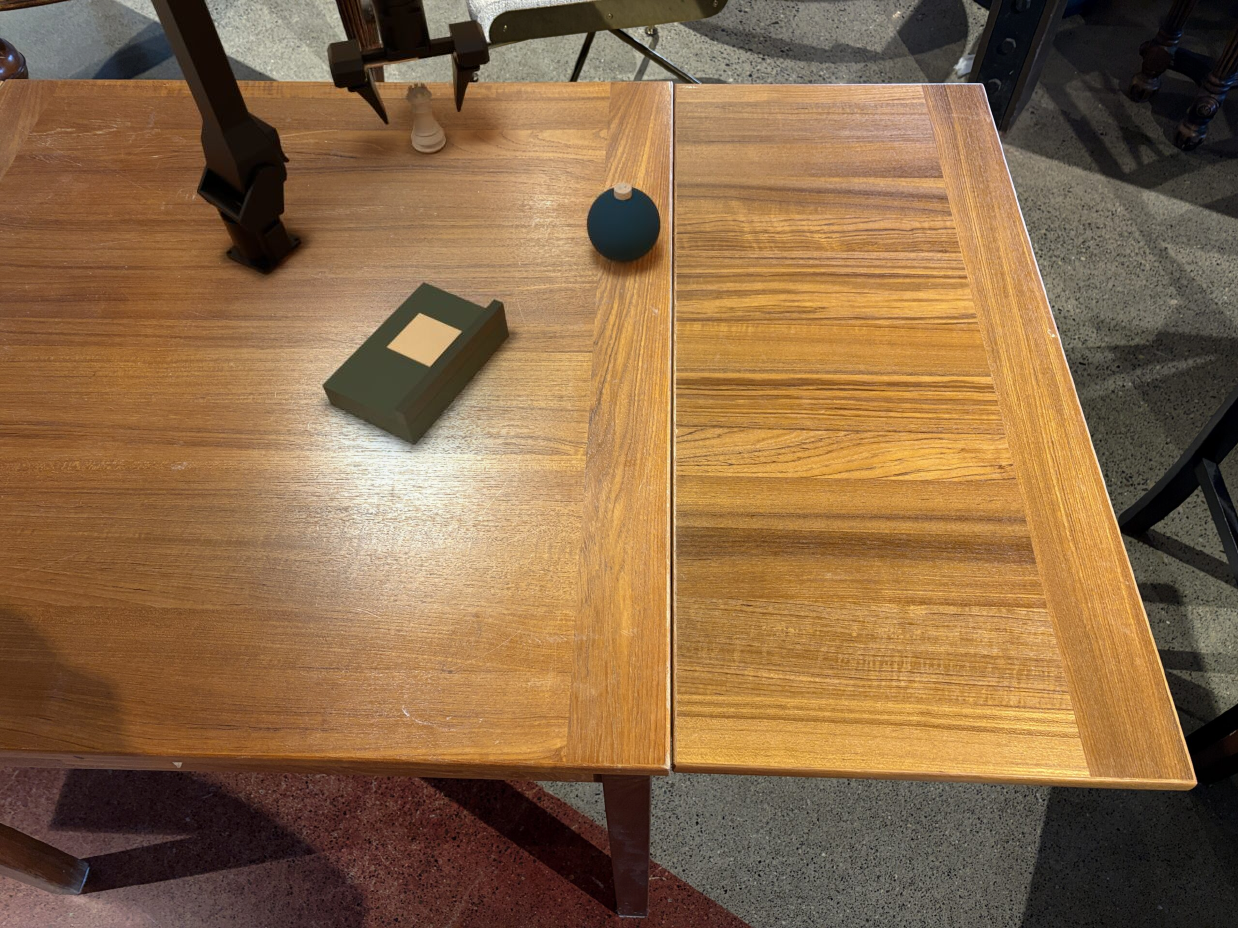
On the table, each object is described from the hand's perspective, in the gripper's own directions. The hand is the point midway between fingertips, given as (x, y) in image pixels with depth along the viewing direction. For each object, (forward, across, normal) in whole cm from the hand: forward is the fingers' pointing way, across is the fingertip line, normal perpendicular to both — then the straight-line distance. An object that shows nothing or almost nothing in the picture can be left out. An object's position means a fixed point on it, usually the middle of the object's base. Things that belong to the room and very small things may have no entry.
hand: (422, 116), depth 114 cm
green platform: (+4, +6, +39) cm, 40 cm away
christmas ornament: (+4, -19, +28) cm, 34 cm away
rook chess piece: (+4, 0, 0) cm, 4 cm away
